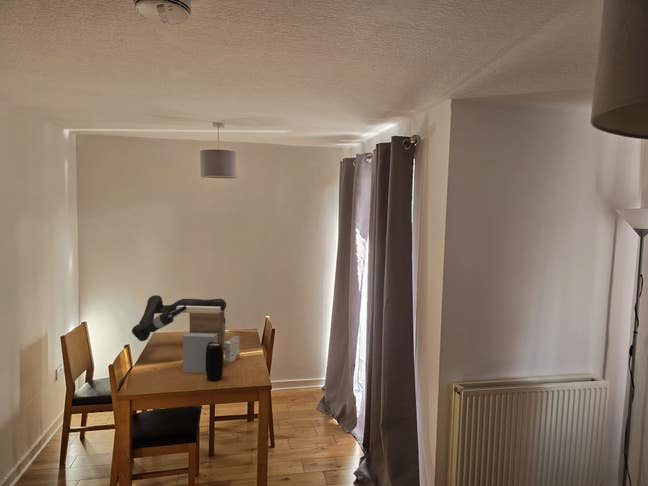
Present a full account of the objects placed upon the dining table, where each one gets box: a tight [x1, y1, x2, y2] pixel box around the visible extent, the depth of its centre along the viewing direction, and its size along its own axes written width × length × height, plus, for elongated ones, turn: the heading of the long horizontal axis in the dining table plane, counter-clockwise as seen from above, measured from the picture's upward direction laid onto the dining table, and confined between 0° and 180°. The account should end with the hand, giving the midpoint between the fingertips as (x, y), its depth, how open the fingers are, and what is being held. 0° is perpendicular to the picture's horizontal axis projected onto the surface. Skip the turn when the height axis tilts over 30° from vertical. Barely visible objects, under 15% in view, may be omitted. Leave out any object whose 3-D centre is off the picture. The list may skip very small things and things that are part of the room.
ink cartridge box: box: [224, 335, 240, 363], centre depth 267 cm, size 9×5×15 cm, turn 148°
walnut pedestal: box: [189, 310, 225, 364], centre depth 257 cm, size 8×18×32 cm, turn 85°
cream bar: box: [176, 306, 221, 313], centre depth 256 cm, size 4×26×3 cm, turn 85°
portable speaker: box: [205, 342, 224, 382], centre depth 235 cm, size 9×9×20 cm
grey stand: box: [182, 332, 218, 374], centre depth 247 cm, size 7×18×21 cm, turn 85°
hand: (187, 306), depth 257 cm, fingers closed on cream bar, 3 cm apart
